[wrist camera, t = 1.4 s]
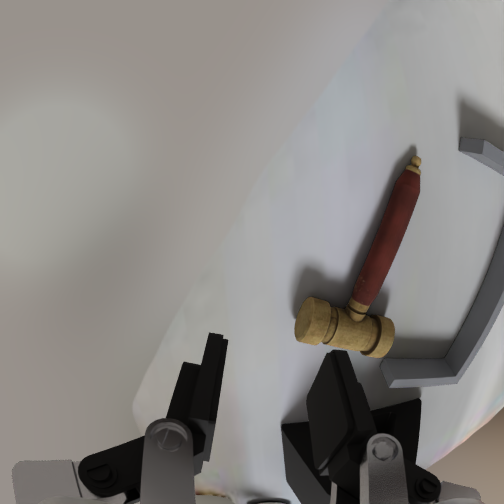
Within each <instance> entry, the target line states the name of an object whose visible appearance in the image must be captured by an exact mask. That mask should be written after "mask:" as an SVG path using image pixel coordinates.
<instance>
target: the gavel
mask: <svg viewBox="0 0 504 504" xmlns="http://www.w3.org/2000/svg"><path fill="white" fill-rule="evenodd" d="M420 164H421V159H420V158H419V157H418V156H413V157H412V159H411V165H408V166H406V169H405V171H404V172H403V173H402V174H401V176H400V177H399V178H398V180H397V181H396V183H395V186H394V189H393V192H392V195H391V198H390V200H389V203H388V206H387V209H386V211H385V214H384V217H383V219H382V222H381V224H380V227H379V229H378V232H377V234H376V237H375V239H374V242H373V244H372V247H371V249H370V251H369V254H368V256H367V259H366V261H365V263H364V265H363V268H362V270H361V272H360V274H359V277H358V279H357V281H356V283H355V286H354V290H353V293H352V297H351V299H350V301H349V304H347V306H346V308H345V309H341V308H338V307H330V304H329V303H328V302H327V301H324V300H321V299H317V298H313V297H308V298H307V299H306V300H305V301H304V302H303V304H302V306H301V308H300V310H299V312H298V315H297V318H296V322H295V337H296V340H297V341H299V342H303V343H307V344H311V345H317V344H319V343H320V342H322V343H323V344H326V345H330V346H335V347H339V348H344V349H349V350H354V351H360V352H361V354H362V355H365V356H370V357H375V358H381V357H383V356H385V355H386V354H387V353H388V351H389V350H390V348H391V346H392V344H393V340H394V335H395V328H394V324H393V322H392V320H391V319H389V318H386V317H383V316H379V315H371V316H370V317H369V316H367V315H366V312H367V310H368V308H369V306H370V305H371V303H372V302H373V300H374V299H375V298H376V296H377V295H378V293H379V291H380V289H381V286H382V284H383V282H384V280H385V278H386V276H387V274H388V271H389V269H390V267H391V265H392V262H393V260H394V258H395V256H396V253H397V251H398V249H399V246H400V244H401V241H402V239H403V236H404V234H405V231H406V229H407V226H408V224H409V221H410V218H411V216H412V213H413V210H414V208H415V205H416V202H417V199H418V196H419V193H420V174H421V171H420V170H419V169H418V167H419V166H420Z"/></svg>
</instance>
